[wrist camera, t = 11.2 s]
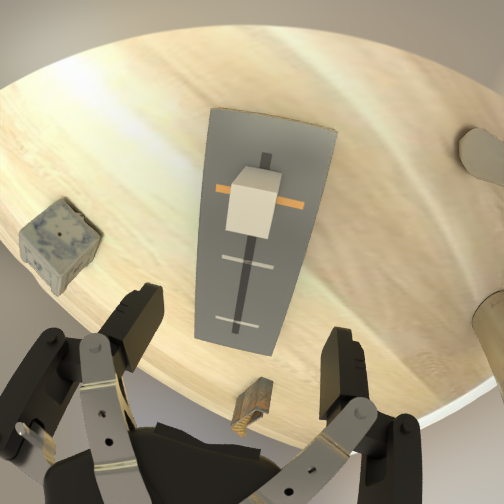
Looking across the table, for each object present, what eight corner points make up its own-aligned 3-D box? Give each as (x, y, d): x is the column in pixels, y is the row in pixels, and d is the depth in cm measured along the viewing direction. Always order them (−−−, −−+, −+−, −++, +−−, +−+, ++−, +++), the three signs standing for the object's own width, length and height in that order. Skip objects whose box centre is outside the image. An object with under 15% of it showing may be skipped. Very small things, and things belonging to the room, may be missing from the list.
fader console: (273, 341, 42) (271, 356, 40) (200, 324, 43) (194, 338, 40) (333, 129, 25) (337, 132, 23) (219, 107, 26) (210, 108, 23)
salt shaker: (444, 144, 23) (515, 179, 12) (471, 115, 20) (546, 137, 9) (467, 181, 24) (532, 231, 13) (493, 154, 22) (562, 191, 11)
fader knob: (274, 210, 27) (267, 239, 22) (240, 203, 28) (225, 230, 23) (282, 173, 25) (277, 193, 20) (245, 165, 26) (231, 183, 20)
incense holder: (54, 228, 38) (14, 259, 30) (65, 193, 34) (18, 223, 26) (91, 264, 41) (55, 303, 32) (107, 233, 37) (64, 273, 28)
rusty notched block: (250, 400, 55) (242, 438, 46) (237, 396, 54) (228, 434, 46) (275, 380, 49) (269, 423, 41) (261, 374, 48) (253, 419, 40)
